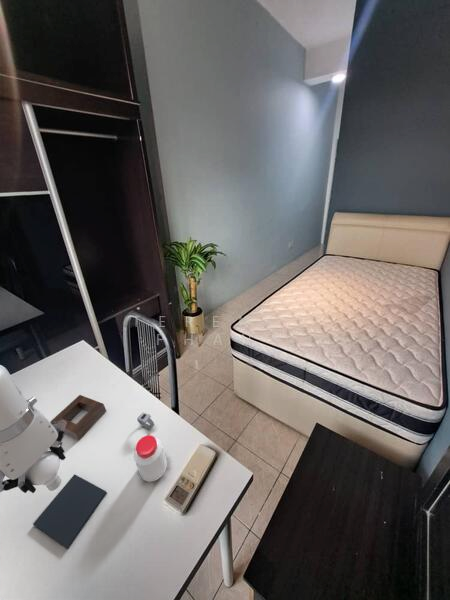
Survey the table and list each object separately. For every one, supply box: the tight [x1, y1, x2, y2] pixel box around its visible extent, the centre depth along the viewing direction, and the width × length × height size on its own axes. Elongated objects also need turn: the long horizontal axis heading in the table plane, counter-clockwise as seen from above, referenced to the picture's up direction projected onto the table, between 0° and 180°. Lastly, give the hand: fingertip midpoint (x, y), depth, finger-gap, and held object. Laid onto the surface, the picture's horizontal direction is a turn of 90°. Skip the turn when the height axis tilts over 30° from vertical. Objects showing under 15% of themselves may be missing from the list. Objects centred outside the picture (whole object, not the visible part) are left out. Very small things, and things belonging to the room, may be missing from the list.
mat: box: [32, 474, 108, 550], centre depth 64 cm, size 12×12×1 cm
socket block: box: [49, 394, 107, 441], centre depth 86 cm, size 12×12×4 cm
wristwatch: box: [137, 412, 155, 430], centre depth 83 cm, size 6×3×5 cm, turn 65°
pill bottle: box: [133, 434, 168, 483], centre depth 70 cm, size 8×8×11 cm
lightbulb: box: [25, 450, 62, 492], centre depth 56 cm, size 6×6×11 cm
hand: (45, 471), depth 56 cm, fingers closed on lightbulb, 6 cm apart
